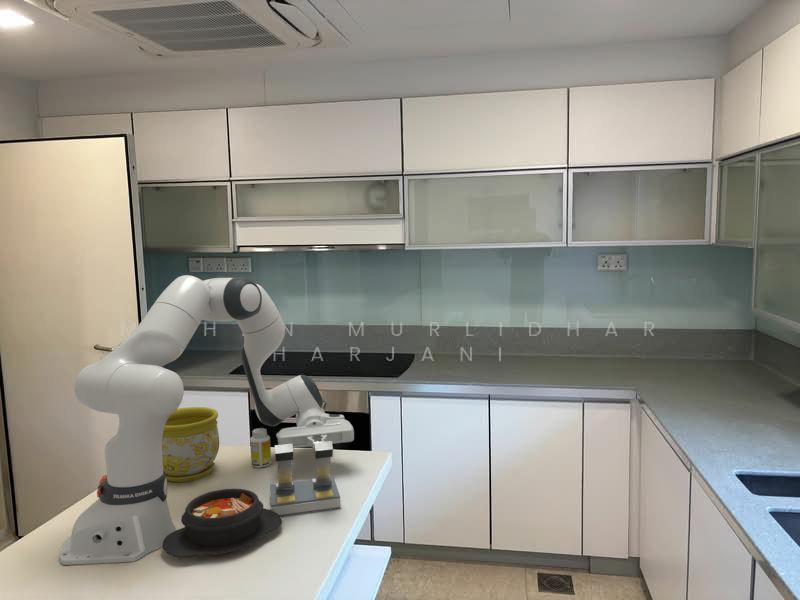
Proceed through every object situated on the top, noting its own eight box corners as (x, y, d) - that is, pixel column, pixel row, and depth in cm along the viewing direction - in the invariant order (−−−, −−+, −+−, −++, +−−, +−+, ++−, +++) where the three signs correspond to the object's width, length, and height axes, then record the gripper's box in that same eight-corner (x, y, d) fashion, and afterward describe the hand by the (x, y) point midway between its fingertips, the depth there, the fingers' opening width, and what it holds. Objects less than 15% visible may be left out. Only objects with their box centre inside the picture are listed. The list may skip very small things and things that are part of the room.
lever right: (313, 491, 146) (314, 451, 136) (312, 482, 148) (313, 442, 138) (331, 488, 147) (333, 449, 137) (330, 480, 149) (332, 440, 139)
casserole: (264, 508, 144) (263, 474, 143) (295, 540, 128) (293, 502, 127) (154, 539, 130) (152, 502, 129) (174, 579, 115) (171, 537, 114)
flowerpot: (216, 483, 159) (212, 423, 157) (145, 489, 156) (140, 428, 154) (225, 458, 176) (222, 404, 175) (162, 463, 174) (158, 409, 172)
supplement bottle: (272, 460, 174) (270, 426, 173) (270, 467, 168) (268, 432, 167) (253, 461, 173) (251, 427, 172) (250, 469, 168) (248, 433, 167)
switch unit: (271, 518, 138) (271, 504, 138) (270, 495, 150) (269, 483, 150) (340, 508, 142) (340, 495, 142) (334, 487, 154) (333, 475, 153)
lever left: (276, 495, 144) (274, 453, 135) (275, 487, 145) (273, 445, 137) (294, 493, 145) (294, 451, 136) (293, 485, 146) (293, 443, 138)
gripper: (275, 421, 165) (276, 438, 151) (348, 414, 169) (356, 429, 156) (276, 443, 165) (278, 462, 152) (349, 435, 170) (357, 452, 157)
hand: (318, 445), depth 154 cm, fingers closed
